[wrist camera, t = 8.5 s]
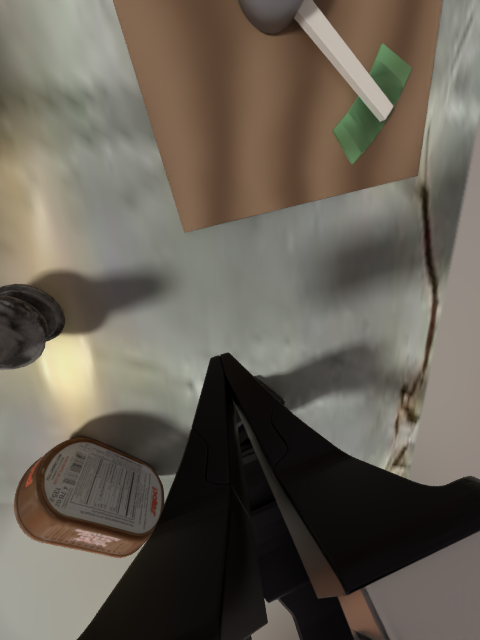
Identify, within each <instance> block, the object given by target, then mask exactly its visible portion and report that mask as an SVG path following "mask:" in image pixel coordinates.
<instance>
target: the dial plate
mask: <svg viewBox="0 0 480 640" xmlns="http://www.w3.org/2000/svg"><path fill="white" fill-rule="evenodd" d="M313 2H314V3H315V4H316V6H317V7H318V8H319V9H320V11H321V12H322V13H323V15H324V16H325V17H326V19H327V20H328V21H329V23H330V24H331V25H332V26H333V28H334V29H335V30H336V32H337V33H338V34H339V36H340V37H341V38H342V39H343V41H344V42H345V43H346V45H347V46H348V47H349V49H350V50H351V51H352V53H353V54H354V55H355V56H356V58H357V59H358V60H359V62H360V63H361V64H362V66H363V67H364V68H365V70H366V71H367V72H368V73H369V75H370V76H371V77H372V79H373V80H374V81H375V83H376V84H377V85H378V87H379V88H380V89H381V90H382V92H383V93H384V94H385V96H386V97H387V98H388V100H389V101H390V102H391V103H392V105H393V108H392V110H391V111H390V113H389V115H388V116H387V118H386V119H385V120H383V121H381V122H380V121H379V120H378V119H377V118H376V116H375V115H374V114H373V113H372V112H371V110H370V109H369V108H368V107H367V106H366V104H365V103H364V102H363V101H362V100H361V98H360V97H359V96H358V95H357V93H356V92H355V91H354V90H353V89H352V87H351V86H350V85H349V84H348V83H347V81H346V80H345V79H344V78H343V77H342V75H341V74H340V73H339V72H338V71H337V69H336V68H335V67H334V66H333V64H332V63H331V62H330V61H329V60H328V58H327V57H326V56H325V55H324V54H323V52H322V51H321V50H320V49H319V48H318V46H317V45H316V44H315V43H314V42H313V40H312V39H311V38H310V37H309V35H308V34H307V33H306V32H305V31H304V29H303V28H302V27H301V26H300V25H299V23H298V22H297V21H296V20H295V19H294V20H293V21H292V23H291V24H290V25H289V26H288V27H287V28H285V29H284V30H282V31H280V32H278V33H265V32H262V31H260V30H258V29H257V28H256V27H254V26H253V25H252V24H251V23H250V22H249V20H248V19H247V18H246V16H245V15H244V13H243V11H242V9H241V7H240V5H239V3H238V0H113V3H114V6H115V9H116V12H117V16H118V19H119V22H120V25H121V28H122V32H123V35H124V38H125V41H126V45H127V48H128V51H129V54H130V58H131V61H132V64H133V67H134V71H135V74H136V77H137V80H138V84H139V87H140V90H141V93H142V97H143V100H144V103H145V106H146V110H147V113H148V116H149V119H150V123H151V126H152V129H153V132H154V136H155V139H156V142H157V145H158V149H159V152H160V155H161V158H162V162H163V165H164V168H165V171H166V175H167V178H168V181H169V184H170V188H171V191H172V194H173V197H174V200H175V204H176V207H177V210H178V213H179V217H180V220H181V223H182V226H183V230H184V232H188V231H192V230H196V229H201V228H205V227H209V226H213V225H217V224H221V223H225V222H229V221H233V220H237V219H242V218H246V217H250V216H254V215H258V214H262V213H266V212H270V211H274V210H279V209H283V208H287V207H291V206H295V205H299V204H303V203H307V202H311V201H315V200H320V199H324V198H328V197H332V196H336V195H340V194H344V193H348V192H352V191H357V190H361V189H365V188H369V187H373V186H377V185H381V184H385V183H389V182H393V181H398V180H402V179H406V178H410V177H414V176H418V170H419V162H420V155H421V148H422V141H423V134H424V127H425V120H426V113H427V106H428V99H429V91H430V84H431V77H432V70H433V63H434V56H435V49H436V42H437V35H438V27H439V20H440V13H441V6H442V0H313Z"/></svg>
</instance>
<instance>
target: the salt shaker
mask: <svg viewBox="0 0 480 640" xmlns="http://www.w3.org/2000/svg"><path fill="white" fill-rule="evenodd" d="M64 322H65V318H64V314H63V311H62V309H61V307H60V306H59V304H58V303H57V302H56V301H55V300H54V299H53V298H52V297H51V296H49V295H48V294H46V293H45V292H43V291H41V290H39V289H36V288H34V287H30V286H26V285H7V286H3V287H0V370H4V369H16V368H20V367H25V366H27V365H29V364H31V363H33V362H34V361H35V360H36V359H37V358H39V357H40V356H41V354H42V352H43V350H44V348H45V342H46V341H49V340H51V339H53V338H55V337H56V336H57V335H58V334H59V333H61V331H62V329H63V327H64Z"/></svg>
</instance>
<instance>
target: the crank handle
mask: <svg viewBox="0 0 480 640" xmlns="http://www.w3.org/2000/svg"><path fill="white" fill-rule="evenodd" d="M238 3H239V5H240V7H241V9H242V11H243V13H244V15H245V16H246V18H247V19H248V20H249V22H250V23H251V24H252V25H253V26H254V27H256V28H257V29H258V30H260V31H262V32H265V33H278V32H280V31H282V30H284V29H285V28H287V27H288V26H289V25H290V24H291V23H292V21H293V20H294V19H295V20H296V21H297V22H298V23H299V25H300V26H301V27H302V28H303V29H304V31H305V32H306V33H307V34H308V35H309V37H310V38H311V39H312V40H313V42H314V43H315V44H316V45H317V46H318V48H319V49H320V50H321V51H322V52H323V54H324V55H325V56H326V57H327V58H328V60H329V61H330V62H331V63H332V64H333V66H334V67H335V68H336V69H337V71H338V72H339V73H340V74H341V75H342V77H343V78H344V79H345V80H346V81H347V83H348V84H349V85H350V86H351V87H352V89H353V90H354V91H355V92H356V93H357V95H358V96H359V97H360V98H361V100H362V101H363V102H364V103H365V104H366V106H367V107H368V108H369V109H370V110H371V112H372V113H373V114H374V115H375V116H376V118H377V119H378V120H379V121H380V122H381V121H383V120H385V119H386V118H387V116H388V115H389V113H390V111H391V110H392V108H393V105H392V103H391V102H390V101H389V100H388V98H387V97H386V96H385V94H384V93H383V92H382V90H381V89H380V88H379V87H378V85H377V84H376V83H375V81H374V80H373V79H372V77H371V76H370V75H369V73H368V72H367V71H366V70H365V68H364V67H363V66H362V64H361V63H360V62H359V60H358V59H357V58H356V56H355V55H354V54H353V53H352V51H351V50H350V49H349V47H348V46H347V45H346V43H345V42H344V41H343V39H342V38H341V37H340V36H339V34H338V33H337V32H336V30H335V29H334V28H333V26H332V25H331V24H330V23H329V21H328V20H327V19H326V17H325V16H324V15H323V13H322V12H321V11H320V9H319V8H318V7H317V6H316V4H315V3H314V2H313V0H238Z"/></svg>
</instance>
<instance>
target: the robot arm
mask: <svg viewBox="0 0 480 640" xmlns="http://www.w3.org/2000/svg"><path fill="white" fill-rule="evenodd" d="M284 403H285V402H284V400H283V398H281V397H280V396H279V395H278V394H276V393H275V392H274V391H272V390H271V389H270V388H269V387H267V386H266V385H265V384H264V383H262V382H261V381H260V380H259V379H257V378H255V377H254V376H253V375H252V374H251V373H250V372H248V371H247V370H246V369H245V368H244V367H243V366H242V365H241V364H240V363H239V362H238V361H237V360H236V359H235V358H234V357H233V356H232V355H231V354H230V353H224V354H221V355H220V356H219V355H218V356H215V357H212V358H211V359H210V362H209V366H208V369H207V373H206V377H205V380H204V384H203V388H202V391H201V395H200V399H199V402H198V406H197V409H196V413H195V417H194V420H193V424H192V429H191V431H190V435H189V438H188V442H187V445H186V448H185V451H184V454H183V457H182V460H181V463H180V465H179V468H178V471H177V473H176V476H175V478H174V481H173V484H172V486H171V489H170V491H169V494H168V496H167V499H166V501H165V504H164V507H163V509H162V512H161V514H160V516H159V519H158V521H157V523H156V525H155V527H154V529H153V531H152V533H151V535H150V536H149V538H148V540H147V541H146V543H145V544H144V546H143V547H142V549H141V550H140V552H139V553H138V555H137V556H136V558H135V559H134V561H133V562H132V563H131V565H130V566H129V568H128V569H127V571H126V572H125V573H124V575H123V576H122V578H121V579H120V581H119V582H118V584H117V585H116V587H115V588H114V590H113V591H112V592H111V594H110V595H109V597H108V598H107V600H106V601H105V603H104V604H103V605H102V607H101V608H100V610H99V611H98V613H97V614H96V616H95V617H94V619H93V620H92V621H91V623H90V624H89V625H88V627H87V628H86V629H85V631H84V632H83V633H82V634H81V635H80V637H79V638H78V639H77V640H252V638H251V635H252V634H253V633H254V632H256V631H257V630H259V629H260V628H261V627H263V626H264V625H266V624H267V623H268V620H267V614H266V608H265V601H264V598H265V599H266V601H267V602H268V603H270V602H272V601H274V600H276V599H278V600H279V601H280V602H281V604H282V605H283V606H284V607H285V608H286V609H287V610H288V611H289V612H290V614H291V615H292V617H293V619H294V622H295V625H296V628H297V631H298V635H299V638H300V640H480V479H478V478H475V477H472V476H468V477H463V478H461V479H458V480H456V481H453V482H451V483H449V484H447V485H444V486H428V485H423V484H419V483H416V482H413V481H411V480H408V479H406V478H403V477H401V476H399V475H396V474H394V473H391V472H389V471H386V470H384V469H381V468H379V467H376V466H374V465H371V464H369V463H366V462H364V461H361V460H359V459H356V458H354V457H352V456H350V455H348V454H346V453H345V452H343V451H342V450H340V449H338V448H337V447H336V446H334V445H333V444H332V443H330V442H329V441H328V440H326V439H325V438H324V437H322V436H321V435H320V434H318V433H317V432H316V431H314V430H313V429H312V428H310V427H309V426H308V425H306V424H305V423H304V422H303V421H301V420H300V419H299V418H298V417H296V416H295V415H294V414H293V413H292V412H290V411H289V410H288V409H287V408H286V407H285V406H284Z"/></svg>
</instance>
